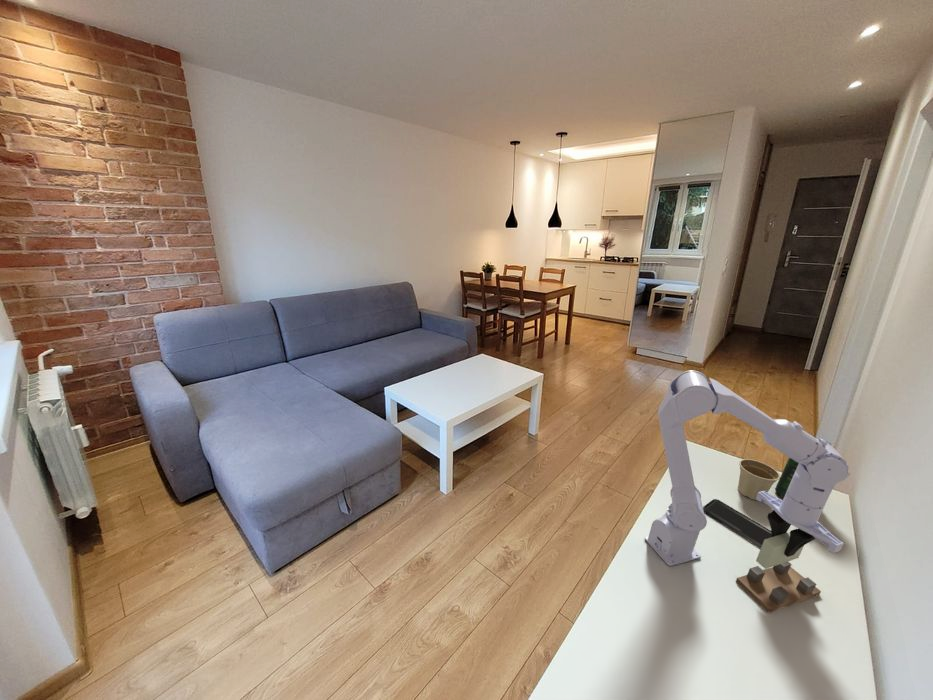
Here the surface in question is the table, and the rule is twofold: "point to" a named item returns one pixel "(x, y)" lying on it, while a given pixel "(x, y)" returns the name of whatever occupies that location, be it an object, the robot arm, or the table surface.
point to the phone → (737, 522)
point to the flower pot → (755, 477)
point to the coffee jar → (787, 477)
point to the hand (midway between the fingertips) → (782, 549)
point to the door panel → (775, 551)
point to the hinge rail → (777, 586)
